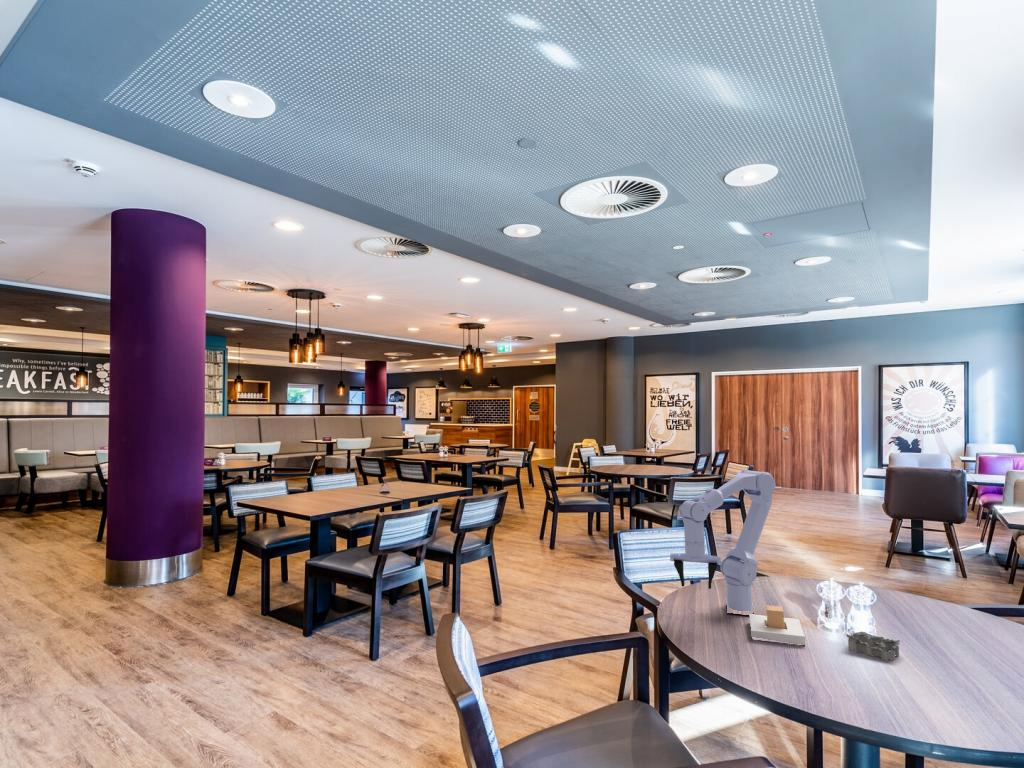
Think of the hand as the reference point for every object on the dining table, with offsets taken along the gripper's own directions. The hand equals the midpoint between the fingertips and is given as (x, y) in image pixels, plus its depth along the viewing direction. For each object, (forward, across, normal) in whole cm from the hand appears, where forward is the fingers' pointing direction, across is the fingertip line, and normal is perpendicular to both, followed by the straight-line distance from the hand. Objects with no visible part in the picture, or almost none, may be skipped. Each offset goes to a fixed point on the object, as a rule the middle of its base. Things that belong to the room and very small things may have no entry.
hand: (696, 586), depth 166 cm
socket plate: (+9, +21, -6) cm, 24 cm away
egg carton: (+10, +43, -10) cm, 45 cm away
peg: (+9, +21, -6) cm, 24 cm away
